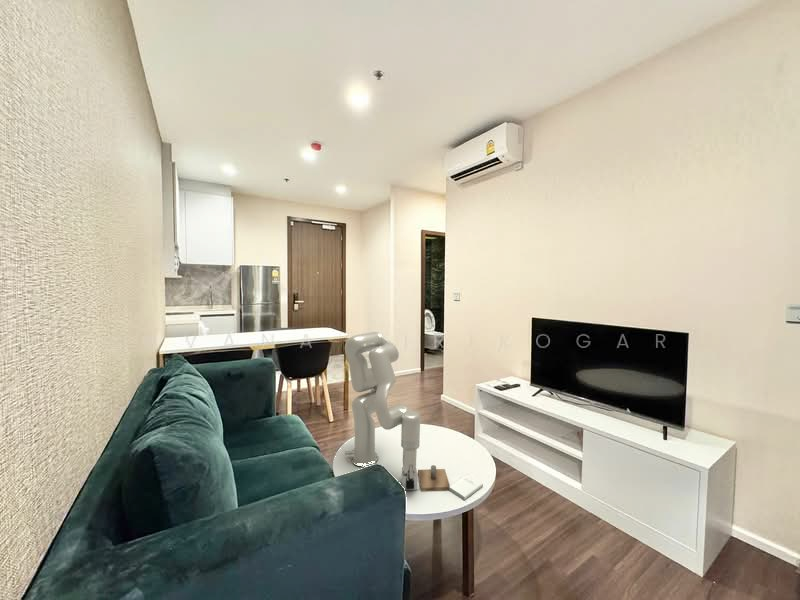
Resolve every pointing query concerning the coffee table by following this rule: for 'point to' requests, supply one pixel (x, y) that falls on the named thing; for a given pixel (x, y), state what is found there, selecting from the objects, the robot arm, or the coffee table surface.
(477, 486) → the external hard drive
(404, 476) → the grey hollow cube
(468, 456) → the coffee table surface
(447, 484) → the shaft block
